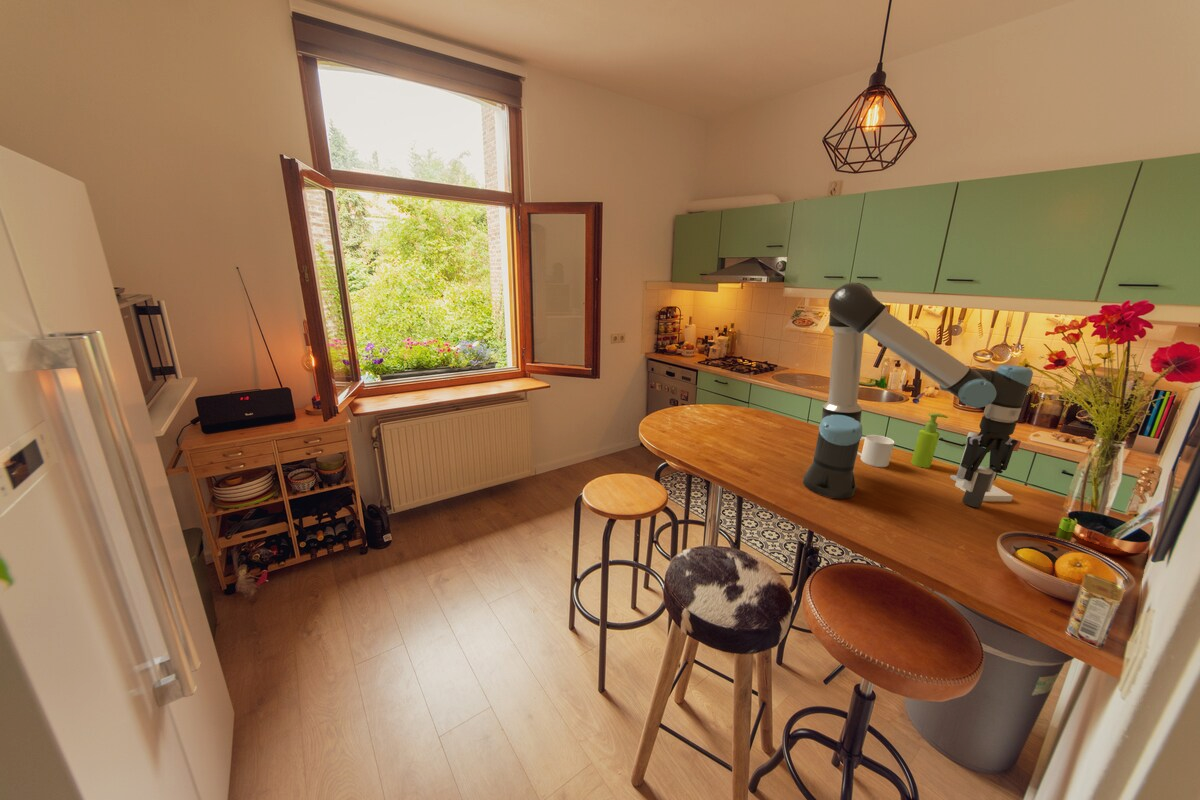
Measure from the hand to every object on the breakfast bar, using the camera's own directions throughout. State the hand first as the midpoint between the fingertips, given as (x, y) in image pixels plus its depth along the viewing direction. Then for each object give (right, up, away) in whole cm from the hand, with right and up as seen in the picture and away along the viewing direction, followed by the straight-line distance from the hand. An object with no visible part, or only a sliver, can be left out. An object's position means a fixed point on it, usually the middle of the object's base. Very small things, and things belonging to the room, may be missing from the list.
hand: (976, 489), depth 131 cm
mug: (-13, +4, +31) cm, 34 cm away
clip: (+15, +12, +11) cm, 22 cm away
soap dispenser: (+5, +3, +29) cm, 29 cm away
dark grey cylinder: (0, -5, +1) cm, 5 cm away
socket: (+9, -2, +11) cm, 15 cm away
